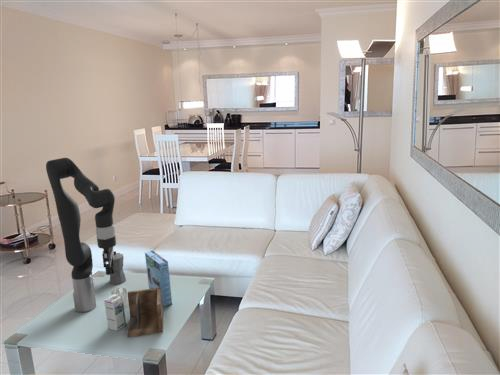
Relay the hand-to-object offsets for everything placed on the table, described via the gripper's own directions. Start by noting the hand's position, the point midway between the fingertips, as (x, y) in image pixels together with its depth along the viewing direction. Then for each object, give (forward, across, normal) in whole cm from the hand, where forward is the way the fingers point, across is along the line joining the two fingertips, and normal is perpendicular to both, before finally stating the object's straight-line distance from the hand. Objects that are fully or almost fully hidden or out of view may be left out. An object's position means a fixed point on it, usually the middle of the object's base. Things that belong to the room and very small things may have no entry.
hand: (110, 270), depth 174 cm
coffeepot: (+28, -48, -5) cm, 56 cm away
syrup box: (+28, 0, 0) cm, 28 cm away
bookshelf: (+28, +2, +13) cm, 30 cm away
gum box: (+28, -22, +19) cm, 40 cm away
